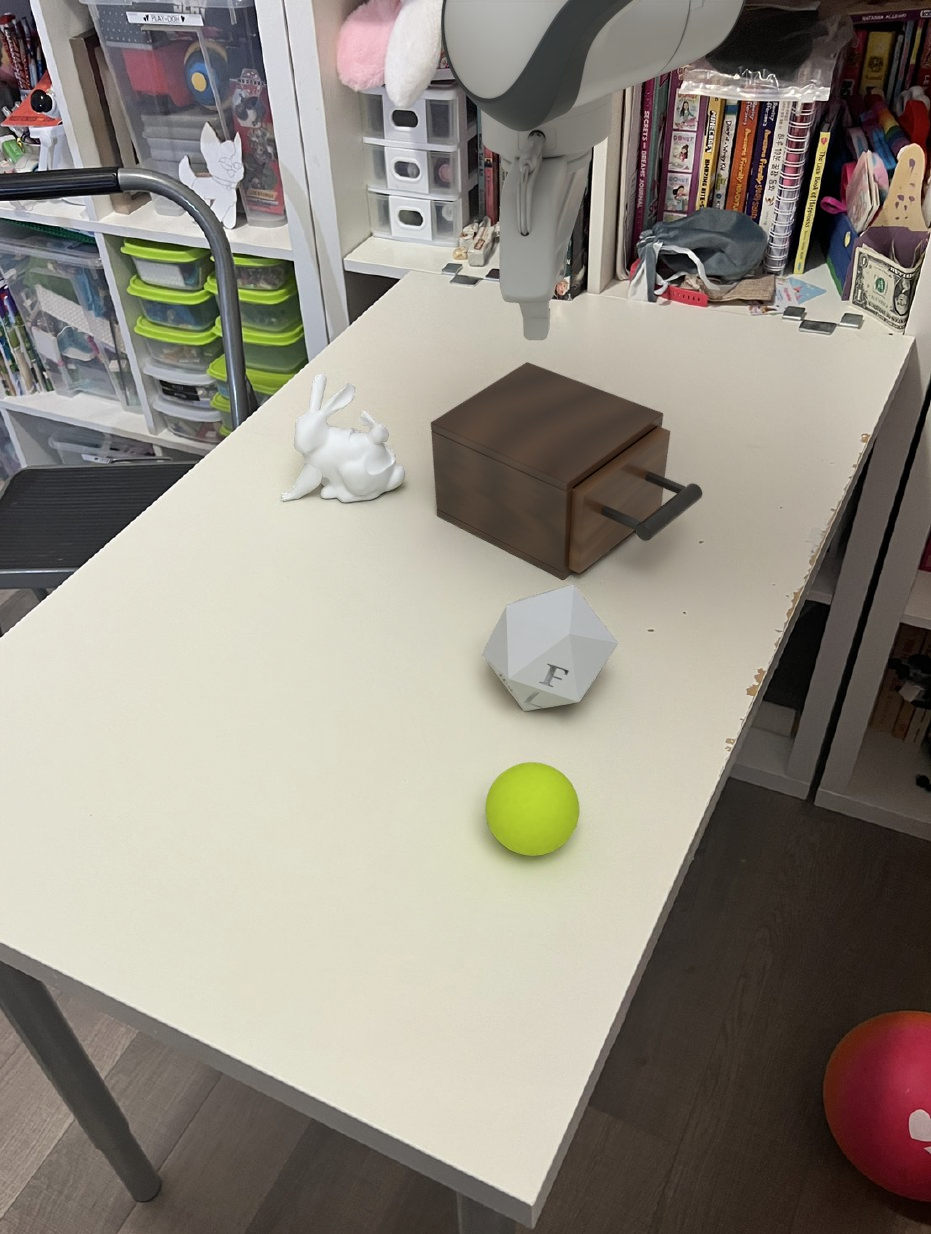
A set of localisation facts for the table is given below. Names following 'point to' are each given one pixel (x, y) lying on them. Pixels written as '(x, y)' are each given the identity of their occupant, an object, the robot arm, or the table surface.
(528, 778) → the ball
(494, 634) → the die
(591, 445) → the cabinet
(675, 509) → the drawer
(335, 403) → the rabbit figurine
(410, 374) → the table surface
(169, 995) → the table surface
